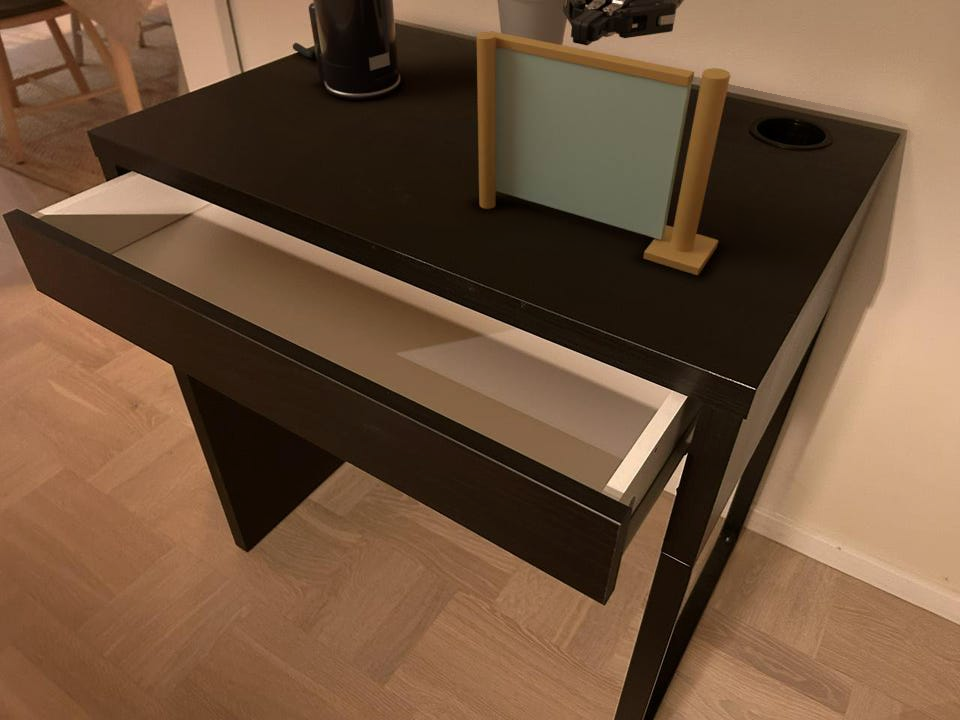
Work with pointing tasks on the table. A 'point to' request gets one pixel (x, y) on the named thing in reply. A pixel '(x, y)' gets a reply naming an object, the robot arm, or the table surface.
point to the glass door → (589, 131)
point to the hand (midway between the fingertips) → (580, 33)
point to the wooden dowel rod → (486, 118)
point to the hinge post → (694, 183)
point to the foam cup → (533, 19)
